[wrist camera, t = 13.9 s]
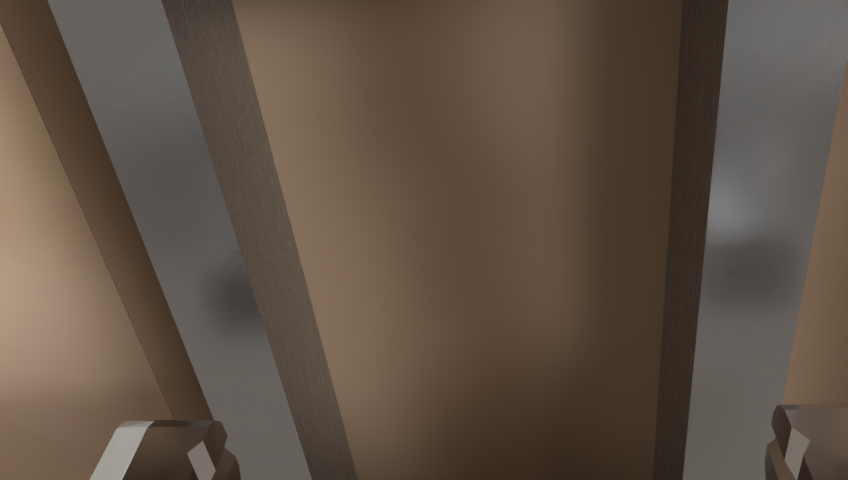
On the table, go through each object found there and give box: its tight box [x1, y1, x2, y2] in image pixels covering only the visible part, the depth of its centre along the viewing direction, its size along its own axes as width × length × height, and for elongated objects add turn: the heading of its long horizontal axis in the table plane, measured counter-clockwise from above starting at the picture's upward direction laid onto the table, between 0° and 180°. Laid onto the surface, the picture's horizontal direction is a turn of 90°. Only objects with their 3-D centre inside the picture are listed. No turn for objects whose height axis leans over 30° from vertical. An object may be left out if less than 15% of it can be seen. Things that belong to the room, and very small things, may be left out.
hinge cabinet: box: [0, 0, 848, 480], centre depth 17 cm, size 15×17×8 cm
